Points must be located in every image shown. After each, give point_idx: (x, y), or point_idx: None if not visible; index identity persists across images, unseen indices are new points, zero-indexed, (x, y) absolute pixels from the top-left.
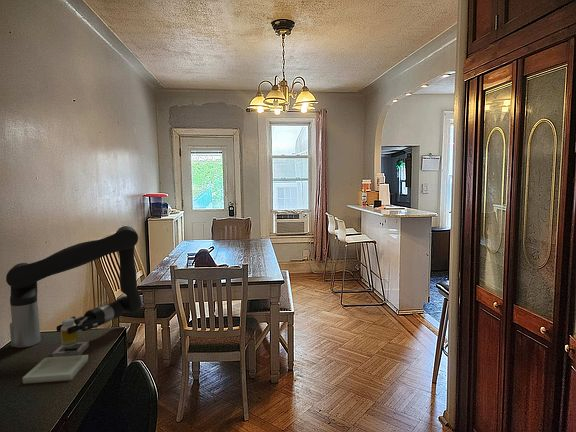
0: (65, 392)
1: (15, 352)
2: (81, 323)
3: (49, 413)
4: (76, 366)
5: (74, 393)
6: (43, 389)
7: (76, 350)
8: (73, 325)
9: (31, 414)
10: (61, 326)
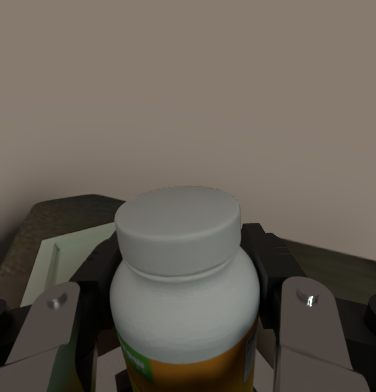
0: (42, 231)
1: None
2: (26, 338)
3: (48, 208)
4: (38, 264)
5: (21, 233)
6: (95, 225)
7: (113, 374)
8: (125, 272)
9: (74, 203)
10: (249, 249)
